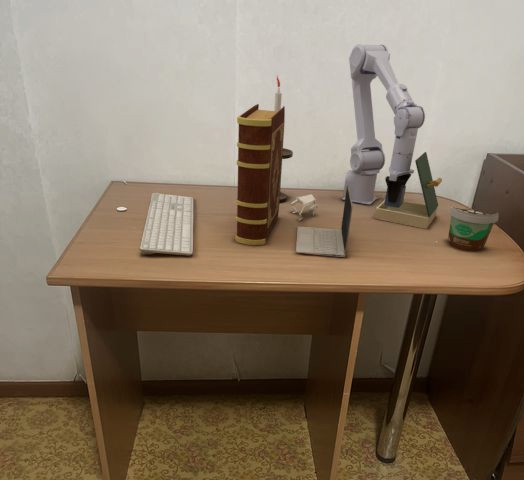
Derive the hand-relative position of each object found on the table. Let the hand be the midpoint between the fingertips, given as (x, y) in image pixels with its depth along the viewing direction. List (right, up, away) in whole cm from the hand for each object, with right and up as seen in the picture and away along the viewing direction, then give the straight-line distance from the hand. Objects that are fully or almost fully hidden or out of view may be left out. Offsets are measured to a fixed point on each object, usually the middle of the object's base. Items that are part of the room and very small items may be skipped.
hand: (394, 200), depth 155 cm
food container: (+14, -18, -17) cm, 28 cm away
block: (0, -1, +1) cm, 1 cm away
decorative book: (-41, -12, -13) cm, 44 cm away
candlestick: (-36, +4, +11) cm, 38 cm away
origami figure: (-27, -5, -1) cm, 28 cm away
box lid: (+8, +3, -6) cm, 10 cm away
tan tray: (+4, -5, +1) cm, 6 cm away
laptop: (-24, -17, -19) cm, 35 cm away
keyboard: (-65, -11, -13) cm, 67 cm away
